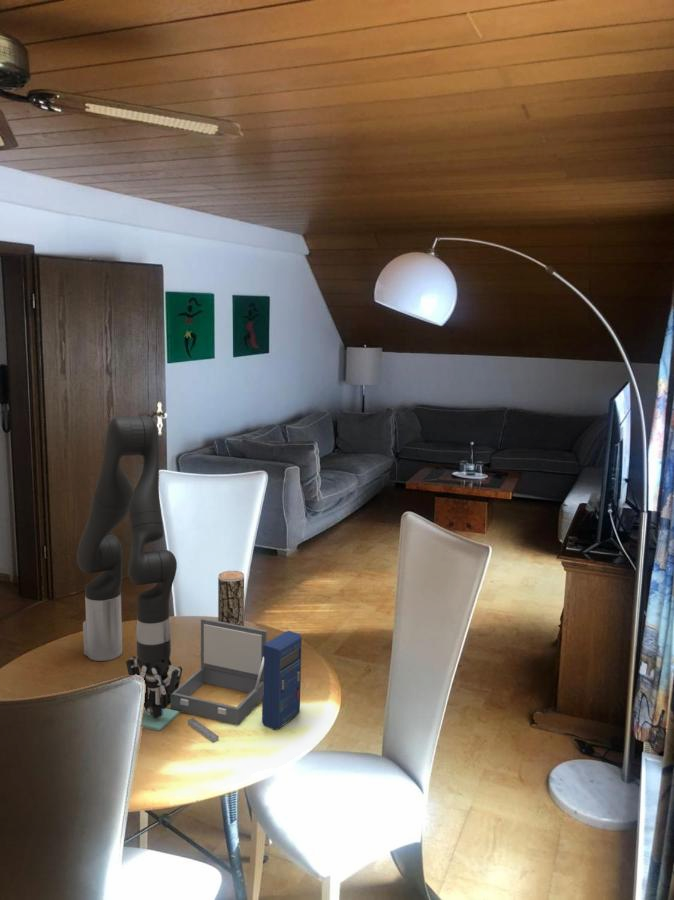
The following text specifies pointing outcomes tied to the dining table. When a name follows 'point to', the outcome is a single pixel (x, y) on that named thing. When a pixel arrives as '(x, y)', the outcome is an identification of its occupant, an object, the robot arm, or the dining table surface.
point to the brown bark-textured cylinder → (231, 597)
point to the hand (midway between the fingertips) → (154, 704)
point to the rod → (203, 730)
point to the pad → (158, 719)
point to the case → (225, 671)
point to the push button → (153, 696)
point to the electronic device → (281, 679)
